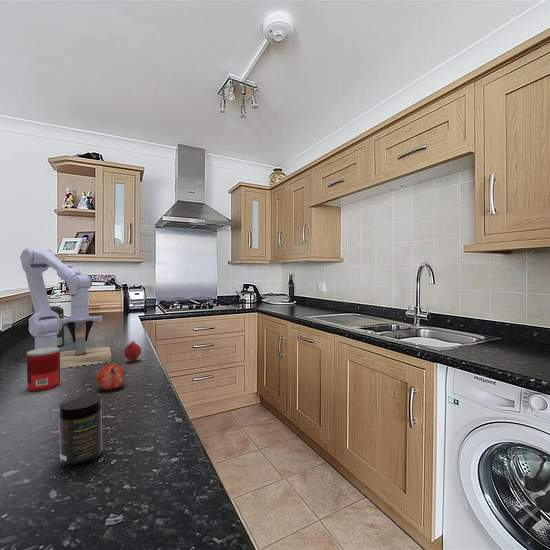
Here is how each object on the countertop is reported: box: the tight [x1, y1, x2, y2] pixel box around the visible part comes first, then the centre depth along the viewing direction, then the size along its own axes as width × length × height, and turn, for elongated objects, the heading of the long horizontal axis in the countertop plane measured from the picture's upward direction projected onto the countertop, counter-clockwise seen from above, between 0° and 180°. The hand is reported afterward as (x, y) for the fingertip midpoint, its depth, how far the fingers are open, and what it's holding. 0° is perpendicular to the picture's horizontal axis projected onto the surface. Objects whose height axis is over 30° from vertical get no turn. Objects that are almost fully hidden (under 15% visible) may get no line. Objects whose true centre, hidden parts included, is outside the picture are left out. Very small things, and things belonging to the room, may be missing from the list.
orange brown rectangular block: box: [75, 331, 86, 354], centre depth 119 cm, size 5×3×7 cm, turn 32°
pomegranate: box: [96, 363, 126, 391], centre depth 91 cm, size 7×7×10 cm
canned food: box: [26, 347, 61, 392], centre depth 93 cm, size 8×8×11 cm
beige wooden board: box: [60, 346, 112, 370], centre depth 119 cm, size 14×20×3 cm
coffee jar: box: [50, 305, 65, 348], centre depth 145 cm, size 10×8×19 cm
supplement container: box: [58, 394, 103, 468], centre depth 57 cm, size 7×7×10 cm
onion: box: [123, 340, 142, 362], centre depth 118 cm, size 6×6×8 cm
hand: (80, 341), depth 119 cm, fingers closed on orange brown rectangular block, 3 cm apart
